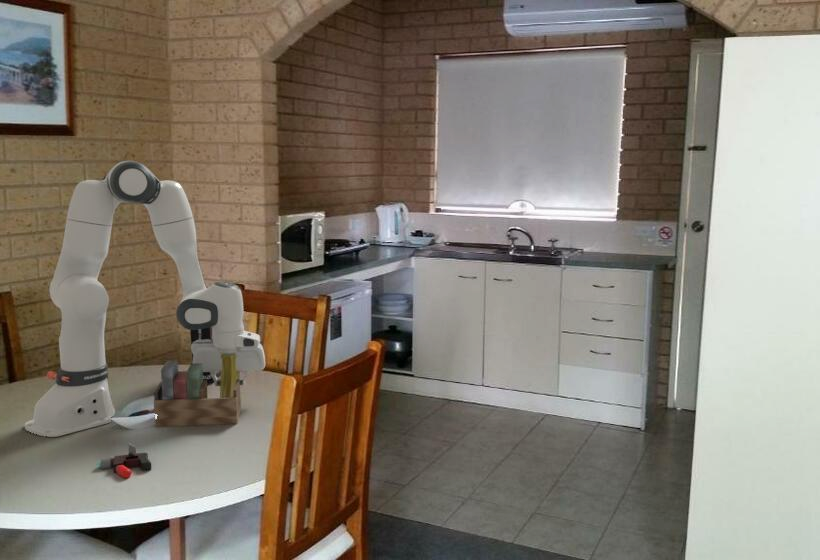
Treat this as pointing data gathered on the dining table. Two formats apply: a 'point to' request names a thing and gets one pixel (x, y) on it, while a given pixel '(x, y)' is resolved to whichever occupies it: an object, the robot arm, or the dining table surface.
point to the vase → (228, 376)
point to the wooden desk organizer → (191, 399)
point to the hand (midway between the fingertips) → (230, 385)
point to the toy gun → (127, 462)
